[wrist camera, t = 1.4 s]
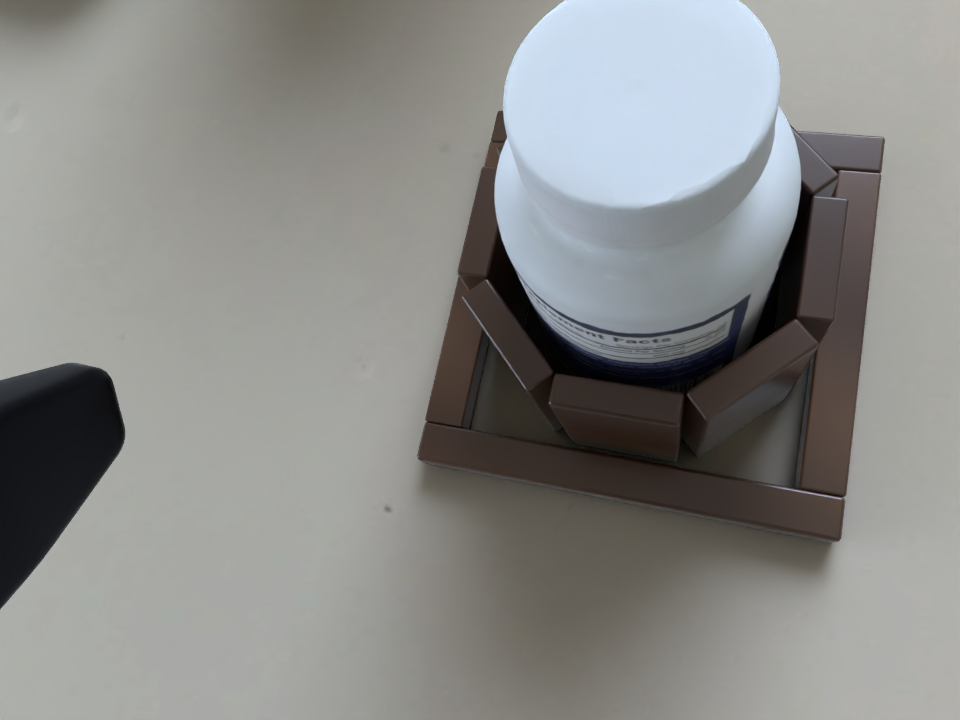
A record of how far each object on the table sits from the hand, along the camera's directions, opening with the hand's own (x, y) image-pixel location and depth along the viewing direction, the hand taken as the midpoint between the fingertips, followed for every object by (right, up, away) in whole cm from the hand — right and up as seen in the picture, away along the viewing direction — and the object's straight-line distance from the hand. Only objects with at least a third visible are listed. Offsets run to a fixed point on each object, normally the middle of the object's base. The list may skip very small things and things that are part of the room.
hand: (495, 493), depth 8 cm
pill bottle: (+4, +3, +13) cm, 14 cm away
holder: (+4, +3, +13) cm, 14 cm away
